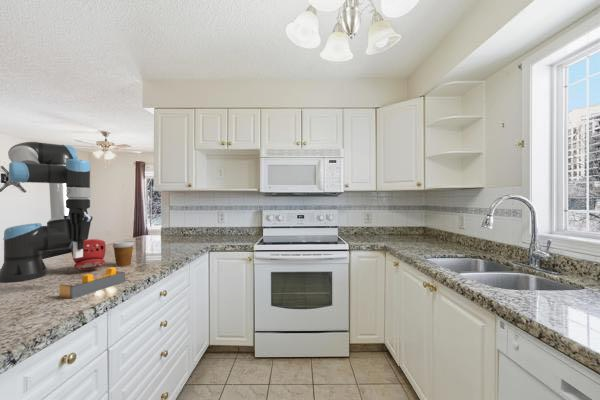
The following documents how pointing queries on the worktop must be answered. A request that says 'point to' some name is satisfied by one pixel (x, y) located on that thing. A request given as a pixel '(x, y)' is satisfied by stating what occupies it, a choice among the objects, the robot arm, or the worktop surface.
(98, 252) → the plant pot
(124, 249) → the disposable coffee cup
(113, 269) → the pipe clamp
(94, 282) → the keeper bracket
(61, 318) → the worktop surface
